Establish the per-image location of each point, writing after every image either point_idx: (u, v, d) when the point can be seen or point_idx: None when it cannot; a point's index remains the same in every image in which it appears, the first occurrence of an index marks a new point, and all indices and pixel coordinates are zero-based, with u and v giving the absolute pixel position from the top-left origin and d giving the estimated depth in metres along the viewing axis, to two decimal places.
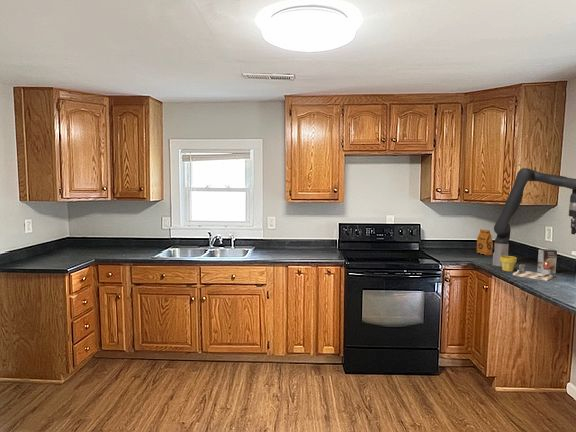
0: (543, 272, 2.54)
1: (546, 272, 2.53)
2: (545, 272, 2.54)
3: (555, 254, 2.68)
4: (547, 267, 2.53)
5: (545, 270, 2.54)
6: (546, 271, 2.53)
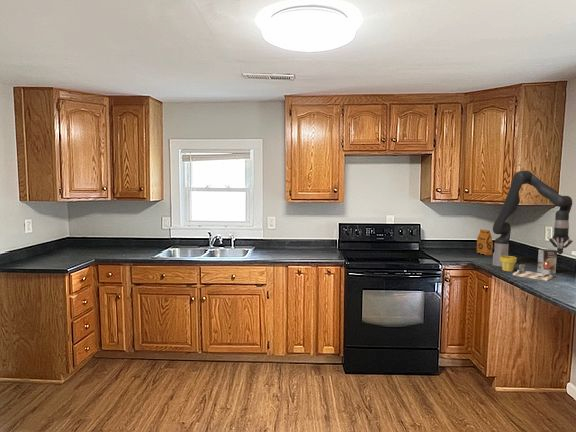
0: (543, 272, 2.54)
1: (546, 272, 2.53)
2: (545, 272, 2.54)
3: (555, 254, 2.68)
4: (547, 267, 2.53)
5: (545, 270, 2.54)
6: (546, 271, 2.53)
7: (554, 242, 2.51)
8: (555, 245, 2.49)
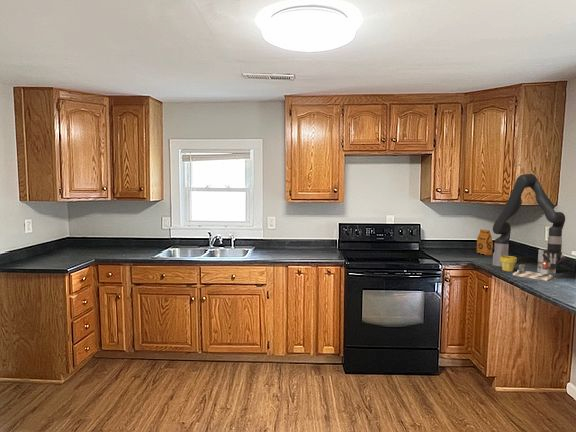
0: (542, 272, 2.55)
1: (545, 272, 2.54)
2: (544, 272, 2.54)
3: None
4: (546, 267, 2.54)
5: (544, 270, 2.54)
6: (545, 271, 2.54)
7: (547, 257, 2.54)
8: (548, 260, 2.53)
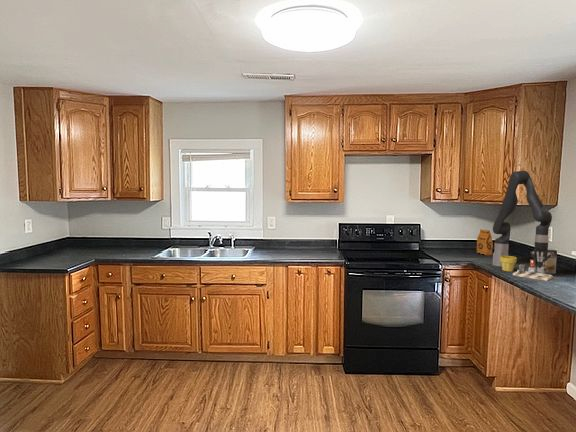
0: (529, 270, 2.60)
1: (532, 270, 2.59)
2: (531, 270, 2.60)
3: (555, 254, 2.68)
4: (533, 265, 2.59)
5: (531, 268, 2.60)
6: (532, 269, 2.59)
7: (535, 256, 2.60)
8: (535, 259, 2.58)
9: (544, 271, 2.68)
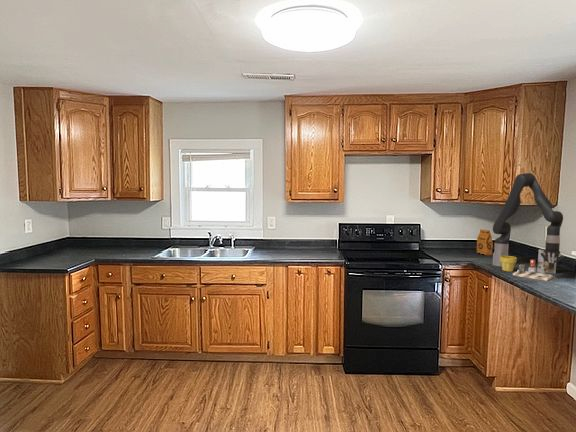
0: (529, 270, 2.60)
1: (532, 270, 2.59)
2: (531, 270, 2.60)
3: None
4: (533, 265, 2.59)
5: (531, 268, 2.60)
6: (532, 269, 2.59)
7: None
8: (546, 260, 2.53)
9: (544, 271, 2.68)
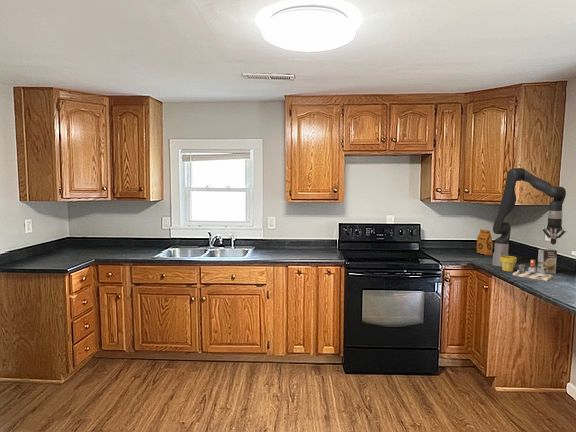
0: (529, 270, 2.60)
1: (532, 270, 2.59)
2: (531, 270, 2.60)
3: (555, 254, 2.68)
4: (533, 265, 2.59)
5: (531, 268, 2.60)
6: (532, 269, 2.59)
7: (548, 233, 2.54)
8: (548, 235, 2.52)
9: (544, 271, 2.68)
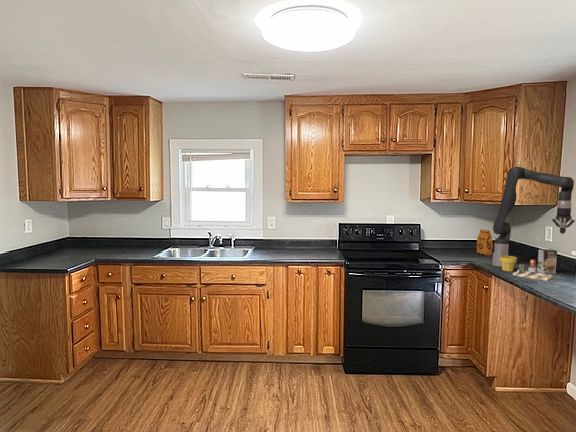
0: (529, 270, 2.60)
1: (532, 270, 2.59)
2: (531, 270, 2.60)
3: (555, 254, 2.68)
4: (533, 265, 2.59)
5: (531, 268, 2.60)
6: (532, 269, 2.59)
7: (557, 222, 2.59)
8: (558, 225, 2.57)
9: (544, 271, 2.68)
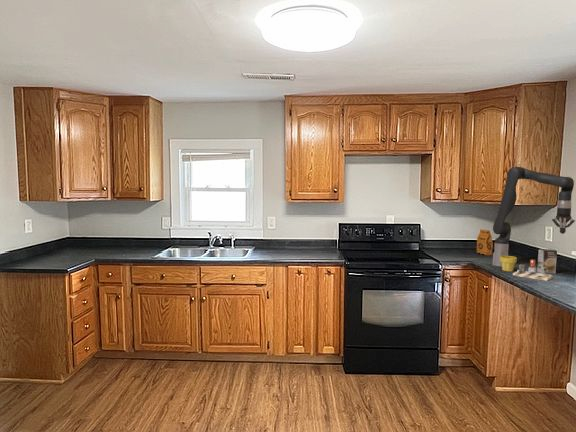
0: (529, 270, 2.60)
1: (532, 270, 2.59)
2: (531, 270, 2.60)
3: (555, 254, 2.68)
4: (533, 265, 2.59)
5: (531, 268, 2.60)
6: (532, 269, 2.59)
7: (557, 222, 2.59)
8: (558, 225, 2.57)
9: (544, 271, 2.68)
